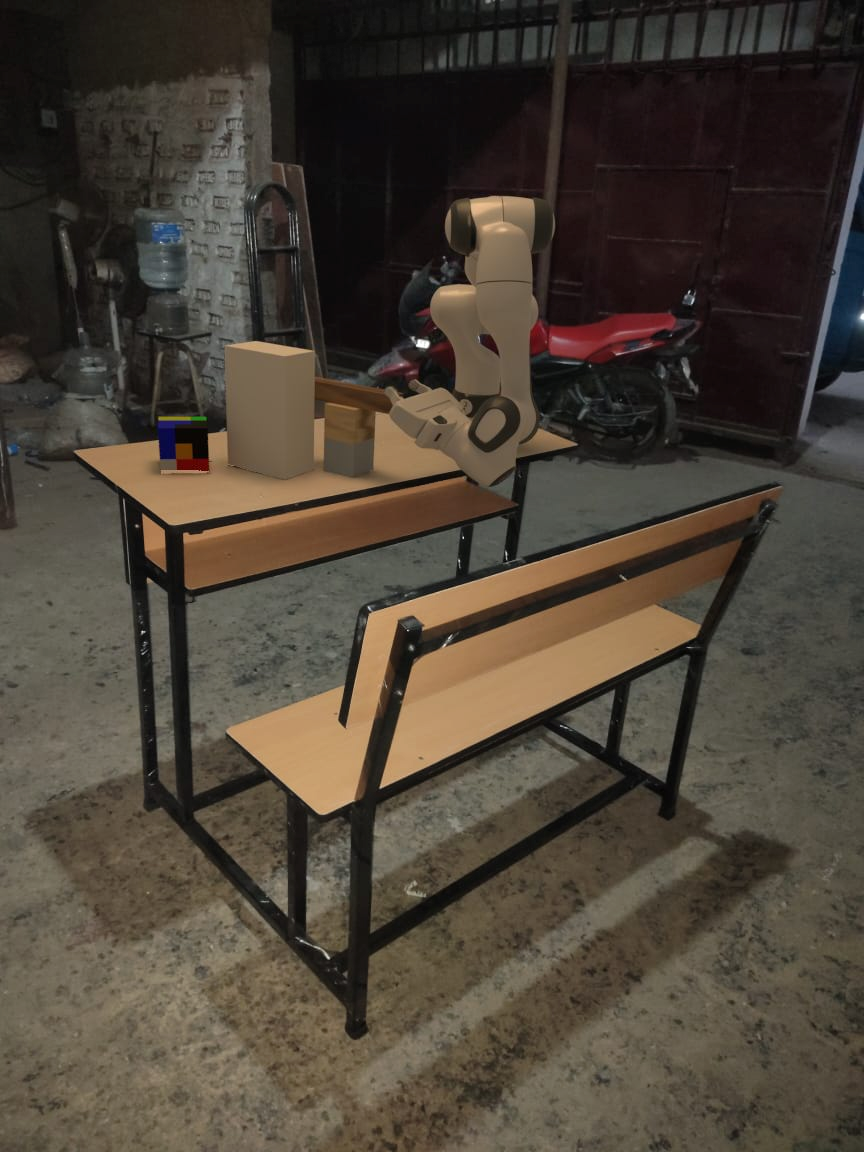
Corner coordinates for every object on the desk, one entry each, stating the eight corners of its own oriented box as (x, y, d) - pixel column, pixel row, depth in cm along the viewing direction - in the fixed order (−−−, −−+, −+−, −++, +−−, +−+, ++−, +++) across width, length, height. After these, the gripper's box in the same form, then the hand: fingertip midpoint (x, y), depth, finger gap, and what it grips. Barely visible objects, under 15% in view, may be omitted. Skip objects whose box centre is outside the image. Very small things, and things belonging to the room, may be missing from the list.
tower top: (345, 431, 195) (345, 398, 192) (374, 437, 191) (375, 404, 188) (324, 437, 188) (324, 403, 185) (354, 444, 185) (355, 410, 182)
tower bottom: (344, 463, 198) (345, 431, 195) (373, 469, 194) (374, 437, 191) (323, 470, 191) (324, 437, 188) (353, 477, 188) (354, 444, 185)
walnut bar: (311, 394, 193) (312, 376, 192) (402, 411, 183) (403, 393, 182) (301, 396, 190) (301, 378, 189) (392, 415, 180) (393, 395, 178)
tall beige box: (257, 456, 198) (255, 341, 188) (313, 469, 191) (315, 351, 181) (228, 465, 190) (224, 345, 180) (285, 479, 183) (285, 356, 173)
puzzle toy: (160, 474, 181) (157, 428, 177) (161, 461, 190) (158, 416, 186) (209, 473, 184) (207, 428, 180) (207, 460, 193) (206, 416, 189)
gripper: (477, 407, 184) (431, 366, 186) (430, 425, 167) (380, 380, 170) (462, 430, 187) (417, 389, 190) (415, 449, 171) (366, 405, 173)
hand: (399, 385), depth 179 cm, fingers open, 8 cm apart
